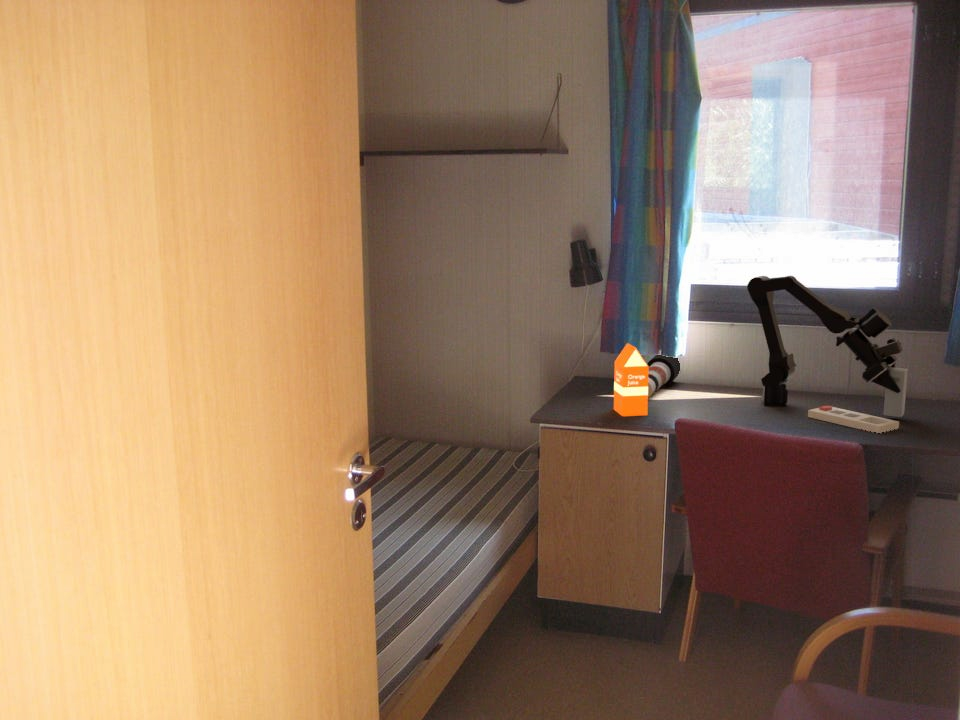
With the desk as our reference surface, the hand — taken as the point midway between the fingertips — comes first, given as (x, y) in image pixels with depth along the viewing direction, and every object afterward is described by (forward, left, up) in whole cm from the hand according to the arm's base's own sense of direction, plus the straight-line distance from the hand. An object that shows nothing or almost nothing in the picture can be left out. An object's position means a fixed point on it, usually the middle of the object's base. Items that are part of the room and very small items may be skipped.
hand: (900, 390), depth 259 cm
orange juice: (-75, -1, -9) cm, 75 cm away
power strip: (-14, -5, -8) cm, 17 cm away
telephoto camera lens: (-68, +29, -9) cm, 74 cm away
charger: (-1, +1, -7) cm, 7 cm away
